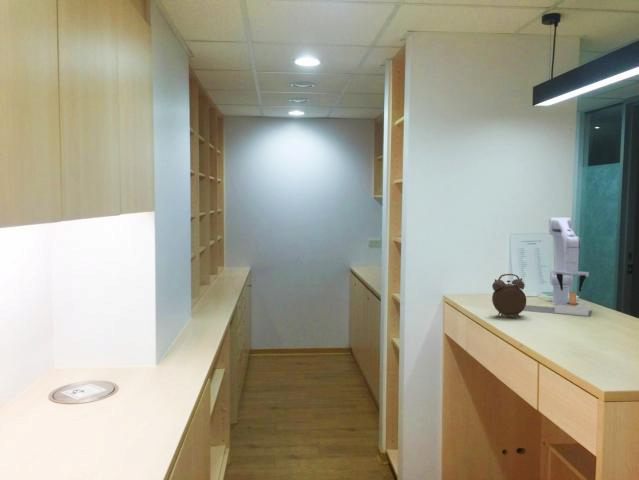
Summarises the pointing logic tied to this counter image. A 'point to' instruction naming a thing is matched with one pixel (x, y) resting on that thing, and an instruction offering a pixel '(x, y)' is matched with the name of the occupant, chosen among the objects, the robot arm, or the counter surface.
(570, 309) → the hole block
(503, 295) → the alarm clock
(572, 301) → the pin
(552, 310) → the rubber mat
